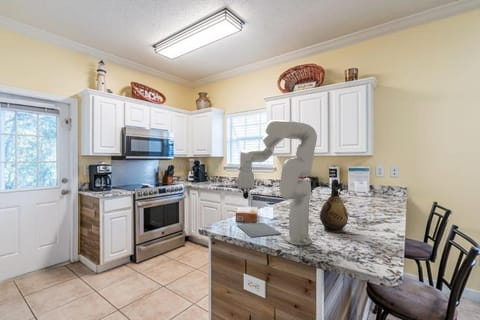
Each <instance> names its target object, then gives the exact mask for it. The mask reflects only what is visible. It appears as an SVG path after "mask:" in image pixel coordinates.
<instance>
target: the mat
mask: <svg viewBox="0 0 480 320" xmlns="http://www.w3.org/2000/svg"><path fill="white" fill-rule="evenodd" d="M237 227H238V228H239V229H240V230H241V231H243V232H244V233H245V235H247V236H249V237H250V238H252V239H253V238H262V237H268V236H277V235H278V236H279V235H282V232H280V231H279V230H277V229H275V228H273V227H271V226H270V225H269V224H267V223H265V222H253V223H246V224H237Z"/></svg>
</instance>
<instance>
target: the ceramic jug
mask: <svg viewBox="0 0 480 320" xmlns="http://www.w3.org/2000/svg"><path fill="white" fill-rule="evenodd" d="M341 189H342V183H341V182H339V180H338V179H337V178H334V179H332V181H331V193H330V196H329V197H328V198H327V200H326V201H325V202H324V203H323V205H322V208H321V210H320V212H319V220H320V222H321V225H323V227H324V230H325V231H327V232H329V233H341V232H342V230H343V229H344V228H345V227H347V224H348V222H349V213H348V211H347V208H346V205H345V204H344V202H343V200H342V198H341V197H340V195H339V190H341Z"/></svg>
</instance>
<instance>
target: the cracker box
mask: <svg viewBox="0 0 480 320" xmlns="http://www.w3.org/2000/svg"><path fill="white" fill-rule="evenodd" d="M258 209H259V207H257V206H243V205H241V206H240V205H239V206H238V207H237V210H236V212H235V221H236V222H246V223H247V222H248V223H258V222H257V221H258Z"/></svg>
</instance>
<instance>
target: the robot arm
mask: <svg viewBox="0 0 480 320" xmlns="http://www.w3.org/2000/svg"><path fill="white" fill-rule="evenodd" d="M265 133H266V134H265V135H264V136H263V137H262V142H263V144H264V145H265V146H264V147H263V148H262V149H249V150H248V149H247V150H246V149H245V150H241V151H240V155H239V156H240V160H239V163H240V164H239V166H240V167H238V168H237V170H238V171H239V172H238V177H237V190H238V191H239V190H240V191H241V192H242V194H243V195H242V197H243V200H244V199H245V200H248V199H249V193H250V192H251V190H254V189H255V175H254V174H255V173H254V172H253V163H263V162H266V161H267V160H268V159H269V158H271V157H272V156H273V154H274V152H275V147H277V145H279V144H280V143H281V142H282V141H283V140H284V139H289V140H290V139H291V140H300V142H299V143H298V145H297V146H296V147H297V148H296V153H295V157H289V158H288V159H286V160H285V161H284V162H283V165H282V169H281V175H280V182H279V194H280V195H281V197H282V198H283V199H285V200H290V202H289V216H288V217H289V219H288V220H289V221H288V224H289V225H288V228H289V229H288V230H289V231H288V235H287V236H285V241H286V242H288V243H289V244H292V245H295V246H308V245H311V243H312V238H310V234H309V228H310V227H309V222H310V220H309V218H310V199H311V195H312V186H311V184H310V182H309V181H308V180H306V179H305V178H304V177H307V176H309V175H310V174H311V173H312V171H313V170H312V169H313V162H314V157H315V150H316V146H317V141H318V134H317V131H316V129H315V128H314V127H312V126H311V125H309V123H304V122H299V121H298V122H297V121H291V120H276V119H274V120H273V119H272V120H270V121H269V122H267V124H266V125H265Z"/></svg>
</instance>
